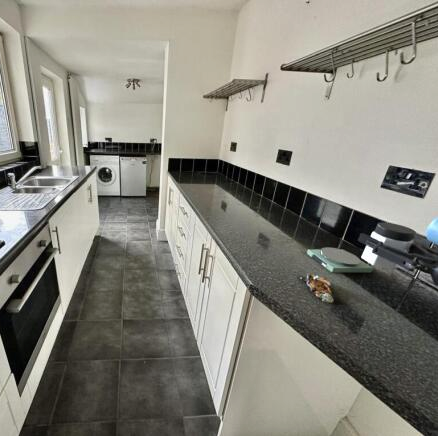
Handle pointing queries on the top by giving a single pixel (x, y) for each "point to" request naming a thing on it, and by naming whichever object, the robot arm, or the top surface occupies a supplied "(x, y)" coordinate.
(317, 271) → the top surface
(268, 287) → the top surface
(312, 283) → the pastry
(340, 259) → the weighing pan
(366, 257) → the jar
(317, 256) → the kitchen scale
